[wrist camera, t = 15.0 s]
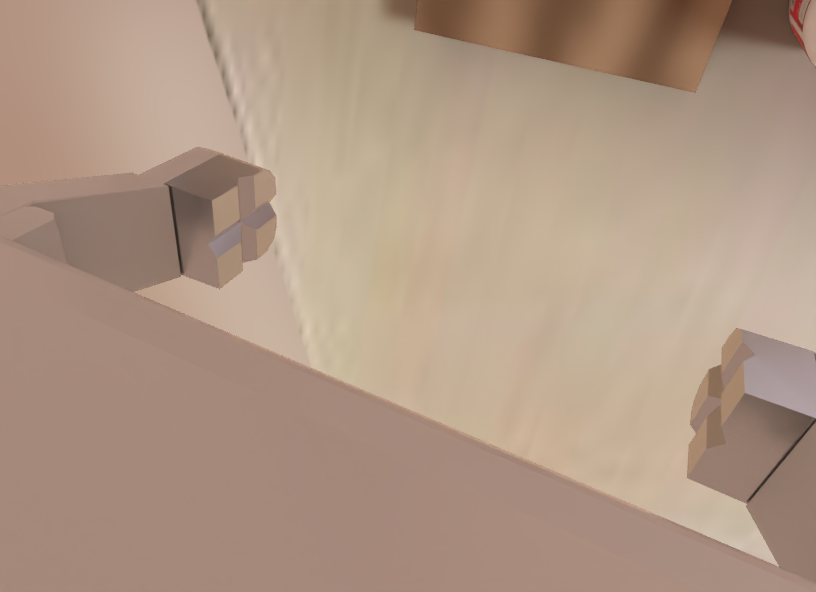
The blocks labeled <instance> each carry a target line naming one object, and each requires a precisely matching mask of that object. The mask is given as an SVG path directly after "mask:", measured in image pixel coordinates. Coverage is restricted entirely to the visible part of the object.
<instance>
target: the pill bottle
mask: <svg viewBox="0 0 816 592" xmlns="http://www.w3.org/2000/svg"><path fill="white" fill-rule="evenodd" d="M789 20H790V24H791V28H792V30H793V32H794V34H795V36H796V38H797V39H798V41H799V43H800V44H801V46H802V47H803V49H804V51H805V52H806V54H807V56H808V58H809V59H810V61H811V62H812V63H813V65H814V66H815V67H816V0H790V2H789Z"/></svg>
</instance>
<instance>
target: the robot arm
mask: <svg viewBox="0 0 816 592" xmlns="http://www.w3.org/2000/svg"><path fill="white" fill-rule="evenodd" d="M275 195H276V184H275V177H274V176H273V174H272V173H271V172H270V171H269V170H266V169H263V168H261V167H258V166H255V165H252V164H250V163H247V162H244V161H241V160H238V159H235V158H233V157H230V156H227V155H224V154H223V153H219V152H216V151H212V150H210V149H206V148H201V147H196V148H194V149H192V150H190V151H188V152H185V153H183V154H181V155H179V156H177V157H175V158H173V159H171V160H169V161H167V162H165V163H163V164H161V165H158V166H156V167H154V168H152V169H150V170H148V171H146V172H144V173H142V174H140V175H137V174H134V173H124V174H114V175H104V176H94V177H84V178H74V179H63V180H53V181H43V182H33V183H23V184H13V185H2V186H0V592H816V352H813V351H810V350H807V349H804V348H801V347H797V346H794V345H791V344H788V343H784V342H781V341H778V340H775V339H772V338H768V337H765V336H762V335H759V334H755V333H752V332H749V331H746V330H743V329H738V328H736V329H735V330H734V331H733V333H732V334H731V335H730V336H729V337H728V339H727V341H726V342H725V344H724V345H723V347H722V362H721V365H718V366H716V367H713V368H711V369H709V370H708V372H707V374H706V375H705V377H704V379H703V381H702V383H701V384H700V386H699V389H698V392H697V394H696V397H695V399H694V402H693V407H692V411H691V420H690V425H691V426H692V428H693V429H694V431H695V432H696V435H695V436H694V438H693V439H692V441H691V443H690V444H689V451H688V469H687V478H688V479H691V480H693V481H695V482H698V483H700V484H702V485H705V486H707V487H709V488H712V489H714V490H716V491H719V492H721V493H723V494H726V495H728V496H730V497H732V498H735V499H737V500H739V501H742V502H744V503H746V504H747V505H746V507H747V509H748V511H749V512H750V514H751V516H752V518H753V520H754V522H755V523H756V525H757V527H758V529H759V531H760V532H761V534H762V536H763V538H764V540H765V541H766V543H767V545H768V547H769V549H770V551H771V552H772V554H773V556H774V558H775V560H776V561H777V563H778V565H779V567H778V566H775V565H773V564H771V563H768V562H766V561H764V560H761V559H759V558H757V557H754V556H752V555H750V554H747V553H745V552H743V551H740V550H738V549H736V548H733V547H731V546H729V545H726V544H724V543H721V542H719V541H717V540H714V539H712V538H710V537H707V536H705V535H703V534H700V533H698V532H696V531H693V530H691V529H689V528H686V527H684V526H682V525H679V524H677V523H674V522H672V521H670V520H667V519H665V518H663V517H660V516H658V515H656V514H653V513H651V512H649V511H646V510H644V509H642V508H639V507H637V506H634V505H632V504H630V503H627V502H625V501H623V500H620V499H618V498H616V497H613V496H611V495H609V494H606V493H604V492H602V491H599V490H597V489H594V488H592V487H590V486H587V485H585V484H583V483H580V482H578V481H576V480H573V479H571V478H569V477H566V476H564V475H562V474H559V473H557V472H554V471H552V470H550V469H547V468H545V467H543V466H540V465H538V464H536V463H533V462H531V461H529V460H526V459H524V458H522V457H519V456H517V455H514V454H512V453H510V452H507V451H505V450H503V449H500V448H498V447H496V446H493V445H491V444H489V443H486V442H484V441H482V440H479V439H477V438H474V437H472V436H470V435H467V434H465V433H463V432H460V431H458V430H456V429H453V428H451V427H449V426H446V425H444V424H442V423H439V422H437V421H435V420H432V419H430V418H427V417H425V416H423V415H420V414H418V413H416V412H413V411H411V410H409V409H406V408H404V407H402V406H399V405H397V404H395V403H392V402H390V401H387V400H385V399H383V398H380V397H378V396H376V395H373V394H371V393H369V392H366V391H364V390H362V389H359V388H357V387H355V386H352V385H350V384H348V383H345V382H343V381H341V380H338V379H336V378H333V377H331V376H329V375H326V374H324V373H322V372H319V371H317V370H315V369H312V368H310V367H307V366H305V365H303V364H301V363H298V362H296V361H294V360H291V359H289V358H286V357H284V356H282V355H279V354H277V353H275V352H272V351H270V350H268V349H265V348H263V347H261V346H258V345H256V344H253V343H251V342H249V341H247V340H244V339H242V338H239V337H237V336H235V335H232V334H230V333H228V332H225V331H223V330H221V329H218V328H216V327H214V326H211V325H209V324H206V323H204V322H202V321H200V320H197V319H195V318H192V317H190V316H188V315H185V314H183V313H181V312H178V311H176V310H174V309H171V308H169V307H167V306H164V305H162V304H160V303H157V302H155V301H153V300H150V299H147V298H146V297H143V296H141V295H138V294H136V293H134V292H135V291H138V290H141V289H144V288H147V287H150V286H153V285H156V284H160V283H163V282H166V281H169V280H172V279H174V278H178V277H181V275H184V276H186V277H189V278H192V279H195V280H197V281H200V282H203V283H205V284H208V285H211V286H213V287H216V288H219V289H220V288H222V287H223V286H224V285H225V284H227V283H228V282H229V281H230V280H232V279H233V278H234V277H236V276H237V275H238V274H239V273H241V272H242V271H243V262H247V261H252V260H256V259H258V258H259V257H261V256H262V255H263V254H264V253H265V252H266V251H267V250H268V248H269V246H270V245H271V243H272V241H273V239H274V236H275V231H276V214H275V212H274V210H273V208H272V206H271V205H270V203H269V202H270V201H271V200H272V199H273V197H274V196H275Z"/></svg>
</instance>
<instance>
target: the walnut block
mask: <svg viewBox="0 0 816 592" xmlns="http://www.w3.org/2000/svg"><path fill="white" fill-rule="evenodd" d="M731 3H732V0H418V1H417V10H416V19H415V28H414V30H417V31H421V32H426V33H430V34H435V35H439V36H444V37H448V38H453V39H457V40H462V41H466V42H471V43H475V44H480V45H484V46H488V47H493V48H497V49H502V50H506V51H511V52H515V53H520V54H524V55H529V56H533V57H538V58H542V59H547V60H551V61H556V62H560V63H565V64H569V65H574V66H578V67H583V68H587V69H592V70H596V71H600V72H605V73H609V74H614V75H618V76H623V77H627V78H632V79H636V80H641V81H645V82H650V83H654V84H659V85H663V86H668V87H672V88H677V89H681V90H686V91H690V92H696V90H697V87H698V85H699V82H700V80H701V77H702V75H703V72H704V70H705V67H706V65H707V62H708V60H709V57H710V55H711V52H712V50H713V47H714V45H715V42H716V40H717V37H718V35H719V32H720V30H721V27H722V25H723V23H724V20H725V18H726V15H727V13H728V10H729V8H730V5H731Z"/></svg>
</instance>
